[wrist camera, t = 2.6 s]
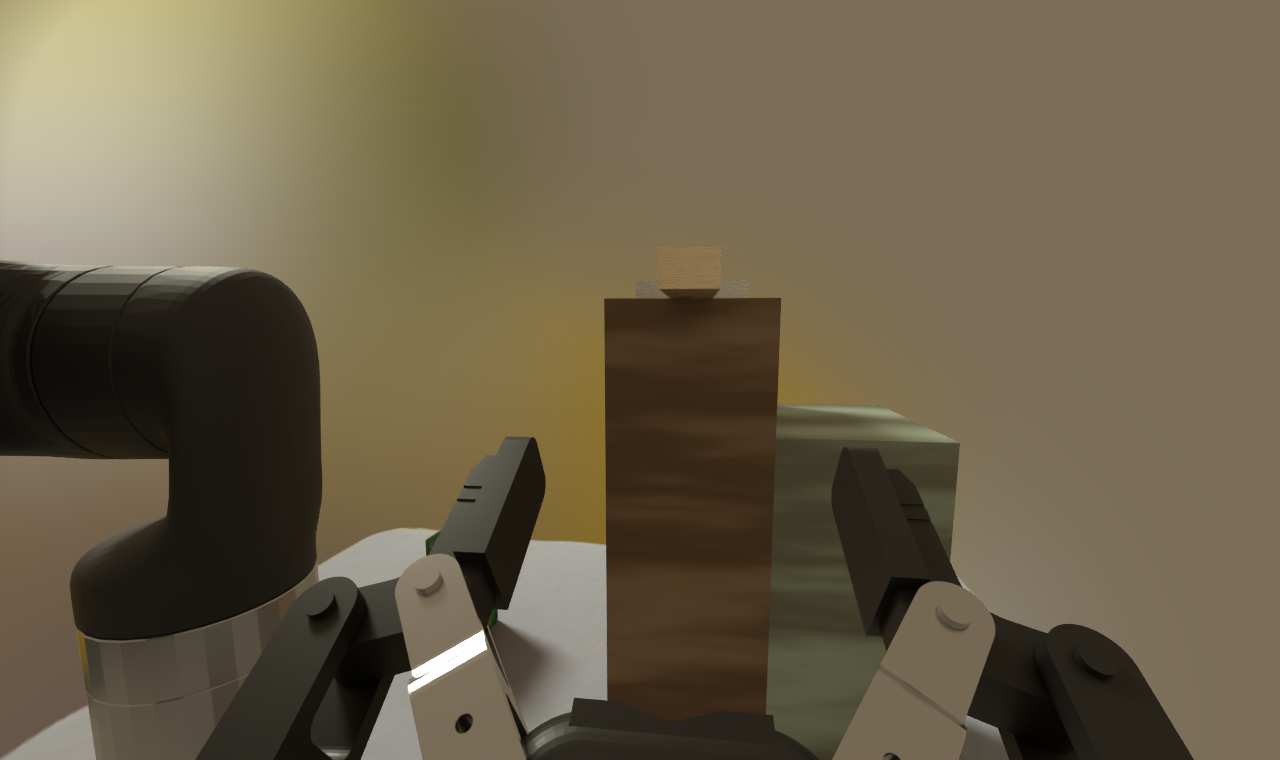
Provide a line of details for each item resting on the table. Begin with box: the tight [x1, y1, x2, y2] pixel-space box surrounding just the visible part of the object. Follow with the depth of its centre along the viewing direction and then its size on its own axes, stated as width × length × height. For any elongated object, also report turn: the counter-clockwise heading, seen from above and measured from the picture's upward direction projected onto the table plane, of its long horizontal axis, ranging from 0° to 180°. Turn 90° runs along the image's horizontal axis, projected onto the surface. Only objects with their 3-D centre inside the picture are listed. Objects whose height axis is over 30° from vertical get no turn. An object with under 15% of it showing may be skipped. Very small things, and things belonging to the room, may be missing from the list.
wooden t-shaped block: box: [636, 246, 748, 298], centre depth 29 cm, size 20×7×2 cm, turn 174°
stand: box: [604, 298, 960, 760], centre depth 35 cm, size 12×20×32 cm, turn 84°
